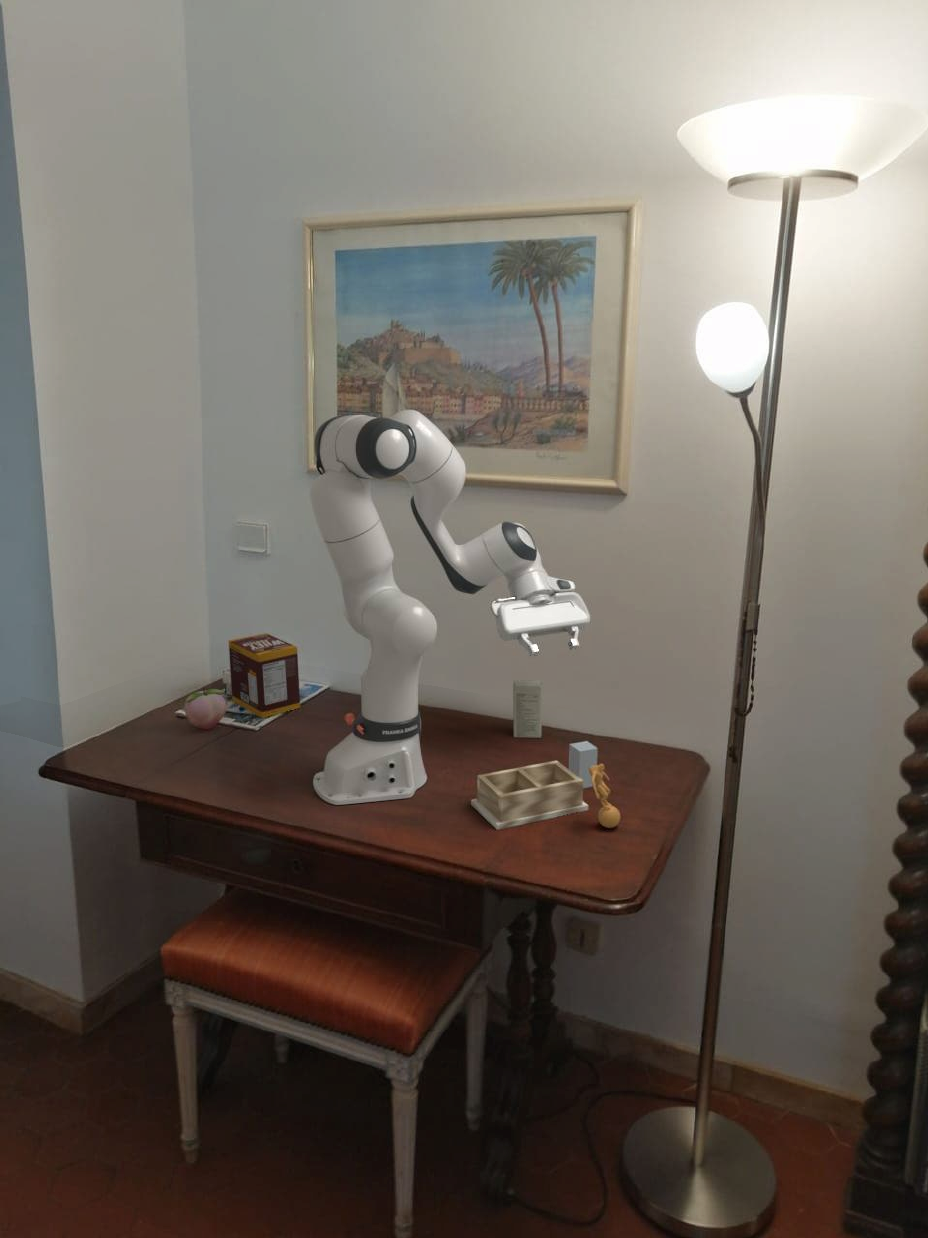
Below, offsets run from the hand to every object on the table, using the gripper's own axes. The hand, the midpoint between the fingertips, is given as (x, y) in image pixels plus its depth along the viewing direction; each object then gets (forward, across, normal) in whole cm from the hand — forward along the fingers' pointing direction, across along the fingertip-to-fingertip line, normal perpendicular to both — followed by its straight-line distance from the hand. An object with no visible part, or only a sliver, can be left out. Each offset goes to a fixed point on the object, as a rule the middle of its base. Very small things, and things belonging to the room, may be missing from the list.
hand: (555, 651), depth 198 cm
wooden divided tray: (+29, -15, +4) cm, 33 cm away
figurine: (+38, -6, -4) cm, 38 cm away
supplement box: (-23, -48, +56) cm, 77 cm away
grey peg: (+26, 0, +8) cm, 27 cm away
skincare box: (+7, +1, +27) cm, 28 cm away
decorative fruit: (-16, -64, +49) cm, 82 cm away
